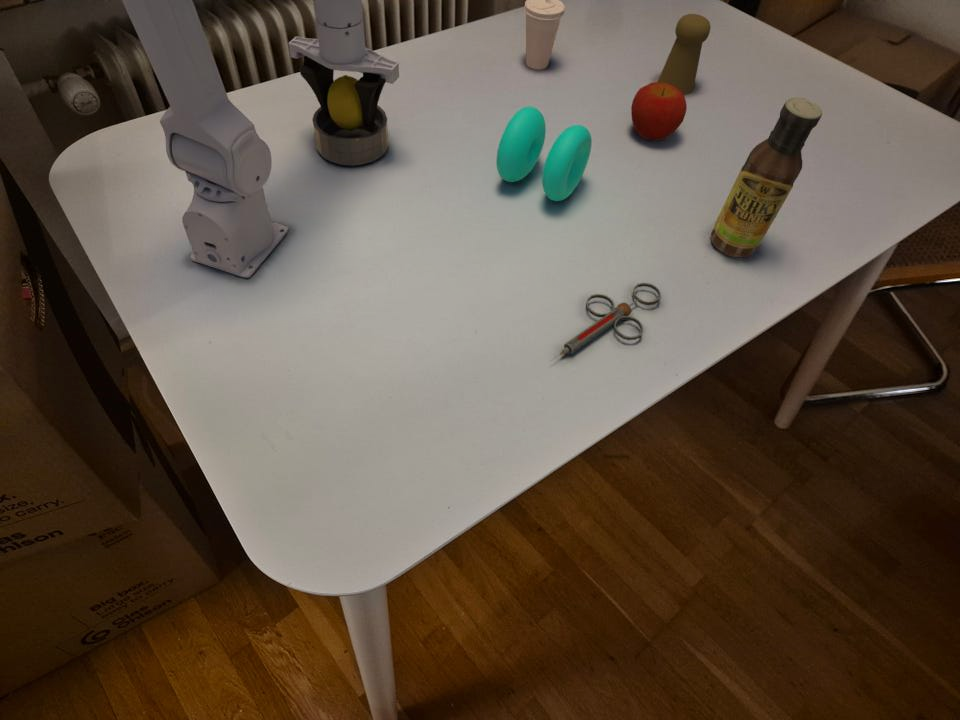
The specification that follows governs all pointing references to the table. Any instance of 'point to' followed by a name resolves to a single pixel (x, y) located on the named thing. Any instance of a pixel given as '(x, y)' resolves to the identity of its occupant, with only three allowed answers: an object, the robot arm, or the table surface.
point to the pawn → (685, 53)
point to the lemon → (345, 103)
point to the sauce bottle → (765, 181)
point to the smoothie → (541, 30)
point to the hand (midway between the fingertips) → (349, 118)
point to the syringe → (608, 320)
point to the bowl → (350, 139)
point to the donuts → (525, 148)
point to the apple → (658, 110)
